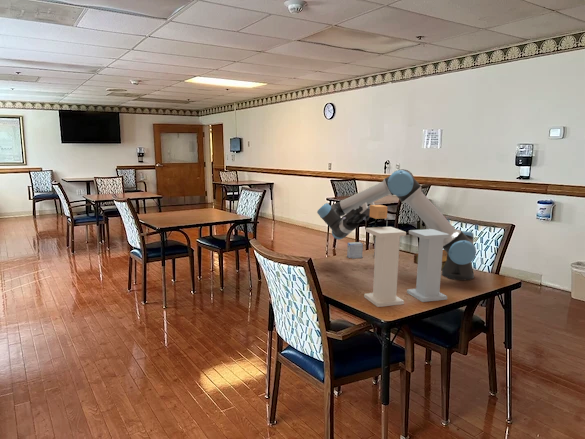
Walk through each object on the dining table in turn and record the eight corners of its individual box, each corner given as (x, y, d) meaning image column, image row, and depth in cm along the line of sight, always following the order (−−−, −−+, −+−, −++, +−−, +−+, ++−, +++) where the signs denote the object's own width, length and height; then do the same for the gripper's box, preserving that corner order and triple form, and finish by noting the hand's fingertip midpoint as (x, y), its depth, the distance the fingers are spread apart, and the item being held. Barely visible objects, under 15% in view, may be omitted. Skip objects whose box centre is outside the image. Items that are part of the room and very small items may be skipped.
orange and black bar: (366, 212, 198) (367, 201, 197) (386, 218, 181) (387, 206, 180) (356, 212, 196) (357, 201, 195) (376, 218, 179) (376, 206, 179)
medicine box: (359, 256, 253) (360, 241, 252) (362, 258, 249) (363, 243, 248) (346, 256, 252) (347, 242, 250) (349, 258, 247) (350, 244, 246)
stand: (387, 293, 190) (390, 226, 185) (403, 304, 177) (408, 232, 172) (362, 295, 187) (365, 227, 181) (377, 307, 174) (381, 234, 169)
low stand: (428, 289, 196) (432, 229, 192) (446, 299, 184) (452, 235, 179) (405, 291, 193) (408, 230, 188) (422, 302, 180) (427, 236, 175)
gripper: (365, 230, 211) (388, 212, 190) (335, 231, 206) (355, 213, 185) (362, 215, 214) (384, 197, 193) (332, 216, 209) (352, 197, 188)
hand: (370, 205), depth 189 cm, fingers closed on orange and black bar, 3 cm apart
